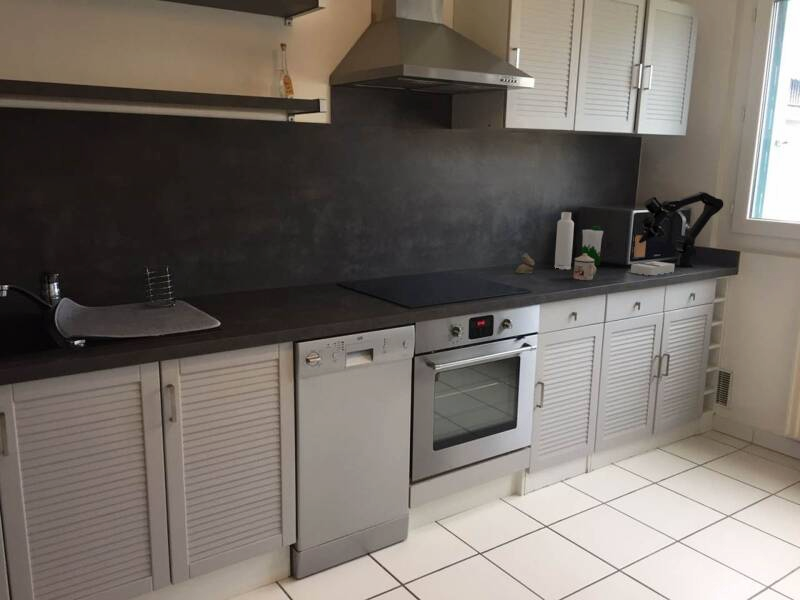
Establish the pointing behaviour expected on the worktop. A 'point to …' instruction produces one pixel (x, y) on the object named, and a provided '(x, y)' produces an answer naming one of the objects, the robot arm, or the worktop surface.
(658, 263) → the white flat block
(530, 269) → the chocolate bunny
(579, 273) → the teacup with lid
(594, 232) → the white green tumbler
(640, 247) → the tan upright block
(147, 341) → the worktop surface
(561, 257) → the bottle
